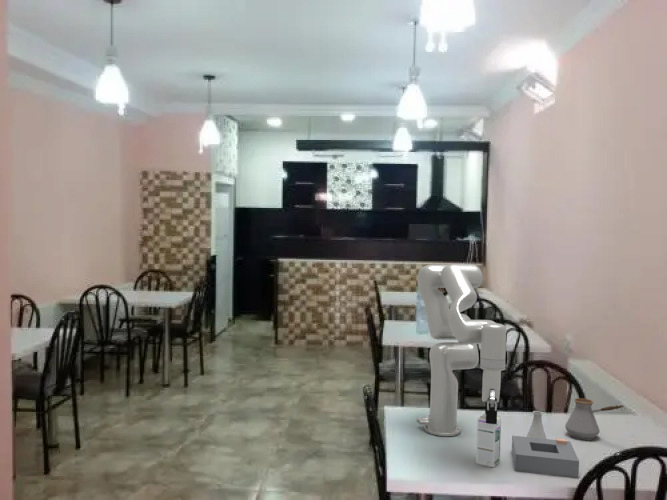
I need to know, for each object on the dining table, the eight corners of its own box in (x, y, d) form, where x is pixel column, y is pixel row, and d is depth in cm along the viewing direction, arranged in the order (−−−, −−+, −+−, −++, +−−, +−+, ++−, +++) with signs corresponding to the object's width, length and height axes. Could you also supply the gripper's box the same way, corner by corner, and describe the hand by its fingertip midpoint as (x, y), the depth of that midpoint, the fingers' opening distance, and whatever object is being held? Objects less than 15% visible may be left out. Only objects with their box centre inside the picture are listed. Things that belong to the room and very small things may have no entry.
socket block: (515, 470, 194) (516, 451, 193) (511, 450, 211) (512, 432, 211) (578, 477, 190) (579, 457, 190) (569, 456, 207) (570, 438, 207)
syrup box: (494, 468, 195) (496, 420, 195) (475, 463, 198) (477, 417, 198) (499, 462, 200) (502, 416, 199) (481, 458, 203) (483, 412, 203)
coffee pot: (557, 433, 231) (560, 392, 230) (578, 429, 237) (580, 389, 236) (611, 452, 213) (613, 408, 212) (632, 447, 219) (634, 403, 218)
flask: (548, 445, 218) (550, 416, 217) (526, 443, 219) (527, 414, 219) (545, 438, 225) (547, 410, 224) (524, 436, 226) (525, 408, 226)
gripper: (479, 358, 207) (478, 411, 207) (480, 368, 190) (478, 425, 190) (503, 359, 205) (502, 413, 206) (506, 370, 189) (504, 428, 189)
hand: (490, 419), depth 198 cm, fingers open, 9 cm apart
